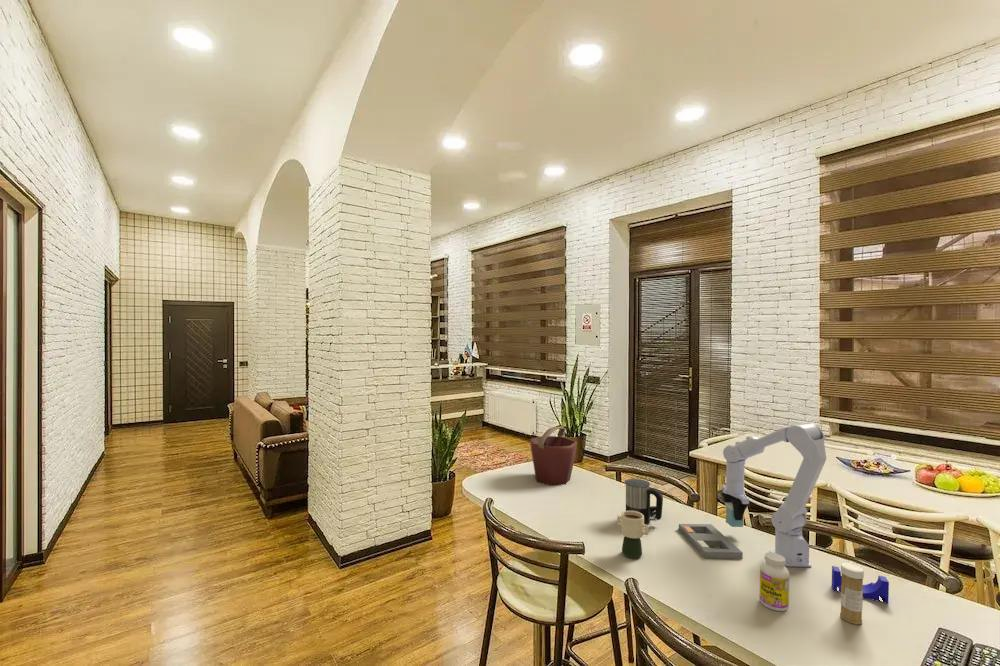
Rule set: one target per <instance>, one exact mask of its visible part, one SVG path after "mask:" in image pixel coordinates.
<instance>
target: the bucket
mask: <svg viewBox="0 0 1000 666" xmlns="http://www.w3.org/2000/svg"><path fill="white" fill-rule="evenodd" d="M566 429H567V428H566V427H562V426H553V427H550V428H548V429H547V430H546V431H545V432H544V433H543V434H542V436H537V437H532V438H530V439H529V440H530V441H529V443H530V444H529V445H530V451H531V456H532V464H533V469H534V475H535V479H536V483H539V482H540V483H539V484H543V483H544V485H547V484H548V486H551V485H552V486H560V485H559V484H565V485H567V484H568V483H569V482H570V480H571V478H572V473H573V468H574V463H575V459H576V453H577V448H578V442H577V441H576V440H574V439H571V438H569V437H566V434H565V431H566ZM557 430H558V431H557ZM554 431H557V432H558V434H557V436H553V435H551V434H553V432H554ZM568 481H569V482H568ZM567 482H568V483H567ZM566 483H567V484H566Z"/></svg>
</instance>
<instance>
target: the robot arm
mask: <svg viewBox="0 0 1000 666" xmlns="http://www.w3.org/2000/svg"><path fill="white" fill-rule="evenodd" d="M745 438H746V439H744V440H742V441H739V440H738V441H735V444H728V445H727V446H725V447H724V448H723V452H722V454H723V458H724V459H725V460H726V463H725V464H726V469H725V470H726V472H725V473H726V476H725V478H726V479H725V484H723V483H722V484H721V489H722V492H721V497H722V498H723V501H724V503H725V502H732V505H733V509H734V517H735V520H742V518H743V519H744V514H745V512H746V509H747V508H748V506H749V505H750V498H749V497H747V495H746V493H745V465H746V460H748V459H749V458H752V457H754V456H756V455H760V454H762V453H764V451H765V449H766V448H767V447H769V446H772V445H774V444H775V445H776V444H778V443H780V442H785V443H789V444H791V445H792V446H793V447H794V448H795V450H797V451H798V453H800V455H801V456H802V458H803V459H802V461H801V463H800V466H799V469H798V471H797V473H796V476H795V478H794V480H793V482H792V484H791V487H790V489H789V492H788V493H787V497H786V499H785V500H784V501H783V503H782V504H781V505H780V506H779V507H778V509H777V510H776V511H774V512H773V513H772V514H771V517H770V518H771V519H770V520H771V523H772V526H773V527H774V530H775V531H774V532H775V533H774V536H775V538H774V540H775V541H774V544H775V545H774V547H775V548H774V550H771V549H770V550H768V553H776V554H779V555H781V556H783V557H784V558H785V565H784V566H785V567H798V568H799V567H803V568H804V567H805V568H807V567H808V568H809V567H810V568H811V567H812V564H811V563H810V545H809V543H808V541H806V539H805V538H804V535H803V527H805V525H806V524H807V514H808V509H807V508H806V506H807V504H808V502H809V500H810V497H811V496H812V495H811V494H812V493H813V491H814V488H815V485H816V484H817V481H818V479H819V477H820V474H821V473H822V470H823V468H824V466H825V463H826V461H827V452H826V447H825V439H826V435H825V433H824V432H823V431H822V429H821V428H820V426H818V425H817V424H815V423H813V422H806V423H802V424H796V425H790V426H787V427H783V428H779V429H777V430H775V431H772V432H771V433H768V434H766V435H764V436H762V437H757V436H752V435H749V436H746V437H745Z"/></svg>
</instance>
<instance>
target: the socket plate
mask: <svg viewBox="0 0 1000 666" xmlns="http://www.w3.org/2000/svg"><path fill="white" fill-rule="evenodd" d="M678 530H679V532H680V533H681V534H682V535H683V534H684V535H685V536H684V535H683V536H684V537H685V538H686V539H687V541H689V542H690V544H692V546H693V547H694V548H695V549H696V550H697V551H698V552H699V553H700V555H702V557H704V559H738V558H742V559H743V557H744V556H743V551H742V550H740V548H738V546H737V545H735V544H734V542H732V541H731V540H729V538H727V536H725V535H724V534H723V533H722V532H721V531H720V530H718V528H716V527H715V526H714V525H713V524H712V523H711V524H708V523H705V524H704V523H698V524H697V523H678ZM718 546H721V548H711V547H718Z"/></svg>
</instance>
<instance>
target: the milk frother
mask: <svg viewBox="0 0 1000 666" xmlns="http://www.w3.org/2000/svg"><path fill="white" fill-rule="evenodd" d="M624 483H625V511H636V512H639V513H641V514H643V515H644V524H645V525H648V526H649V524H651V520H650V519H651V518H652V517H654V516H655V520H657V521H659V520H661V519H662V515H663V504H664V498H663V494H662V492H661V491H660V490H658V488H655V487H650V485H651V483H650V482H649V481H647V480H646V479H641V478H629V479H626V480H624ZM651 495H652V496H654V497H655V499H656V502H655V506H654V505H651Z"/></svg>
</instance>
